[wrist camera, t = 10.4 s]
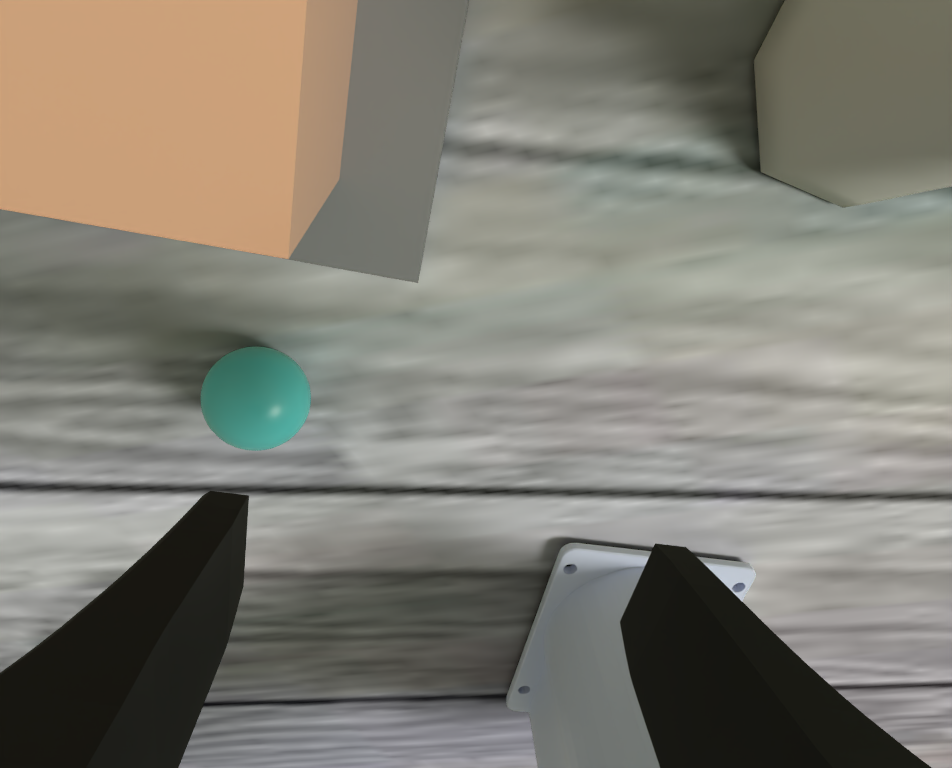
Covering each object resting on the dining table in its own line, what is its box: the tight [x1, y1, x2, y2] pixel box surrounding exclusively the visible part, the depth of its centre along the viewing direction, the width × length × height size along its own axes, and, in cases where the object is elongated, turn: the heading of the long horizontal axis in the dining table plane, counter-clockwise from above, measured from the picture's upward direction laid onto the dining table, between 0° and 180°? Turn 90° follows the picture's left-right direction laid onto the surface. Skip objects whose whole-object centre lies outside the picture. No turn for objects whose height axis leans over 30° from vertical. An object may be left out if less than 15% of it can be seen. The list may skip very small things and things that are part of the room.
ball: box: [201, 347, 311, 450], centre depth 18 cm, size 3×3×3 cm
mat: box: [261, 0, 469, 283], centre depth 15 cm, size 10×10×1 cm
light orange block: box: [0, 0, 358, 259], centre depth 12 cm, size 5×5×7 cm
